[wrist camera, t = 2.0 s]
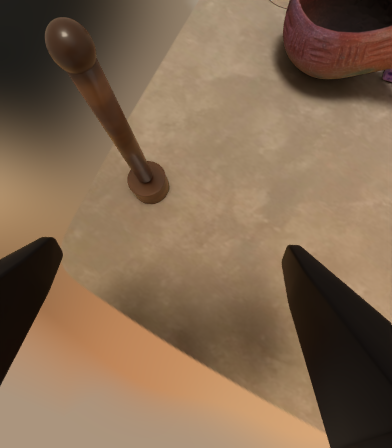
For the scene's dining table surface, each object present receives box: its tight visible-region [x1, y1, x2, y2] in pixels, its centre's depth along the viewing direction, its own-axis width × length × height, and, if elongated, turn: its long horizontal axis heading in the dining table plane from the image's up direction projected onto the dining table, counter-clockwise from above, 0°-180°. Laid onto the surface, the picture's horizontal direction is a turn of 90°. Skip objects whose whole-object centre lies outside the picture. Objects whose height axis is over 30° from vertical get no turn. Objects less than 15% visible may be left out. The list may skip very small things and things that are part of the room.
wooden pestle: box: [45, 17, 169, 204], centre depth 17 cm, size 4×4×17 cm
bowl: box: [283, 0, 392, 79], centre depth 24 cm, size 16×13×8 cm
